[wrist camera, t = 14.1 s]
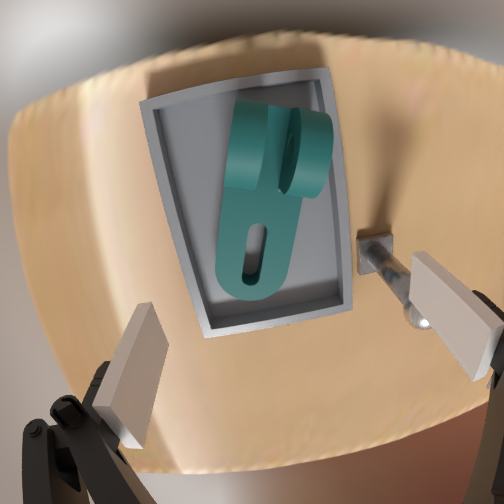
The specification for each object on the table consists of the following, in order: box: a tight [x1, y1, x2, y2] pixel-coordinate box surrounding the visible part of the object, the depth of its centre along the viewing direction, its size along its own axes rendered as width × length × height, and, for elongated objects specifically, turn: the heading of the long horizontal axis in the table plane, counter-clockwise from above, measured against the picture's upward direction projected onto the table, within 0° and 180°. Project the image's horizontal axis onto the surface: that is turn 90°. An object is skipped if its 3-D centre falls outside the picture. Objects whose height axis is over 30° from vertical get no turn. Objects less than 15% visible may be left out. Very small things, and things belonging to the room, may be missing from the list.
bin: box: [139, 67, 353, 338], centre depth 28 cm, size 16×24×2 cm, turn 10°
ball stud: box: [356, 232, 432, 330], centre depth 26 cm, size 4×4×13 cm
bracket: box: [215, 98, 334, 301], centre depth 25 cm, size 18×7×8 cm, turn 172°
